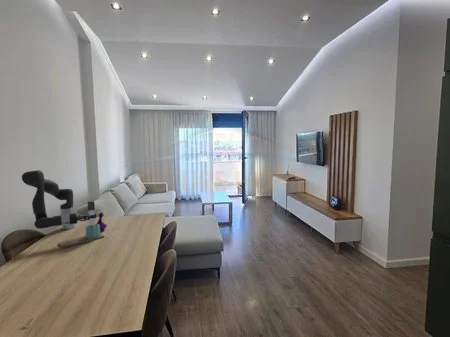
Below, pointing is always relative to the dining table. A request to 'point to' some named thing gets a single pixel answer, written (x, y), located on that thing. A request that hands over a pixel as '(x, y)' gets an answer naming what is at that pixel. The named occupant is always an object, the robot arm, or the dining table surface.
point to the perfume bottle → (102, 225)
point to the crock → (92, 231)
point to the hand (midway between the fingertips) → (96, 215)
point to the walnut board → (77, 241)
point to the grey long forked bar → (91, 213)
